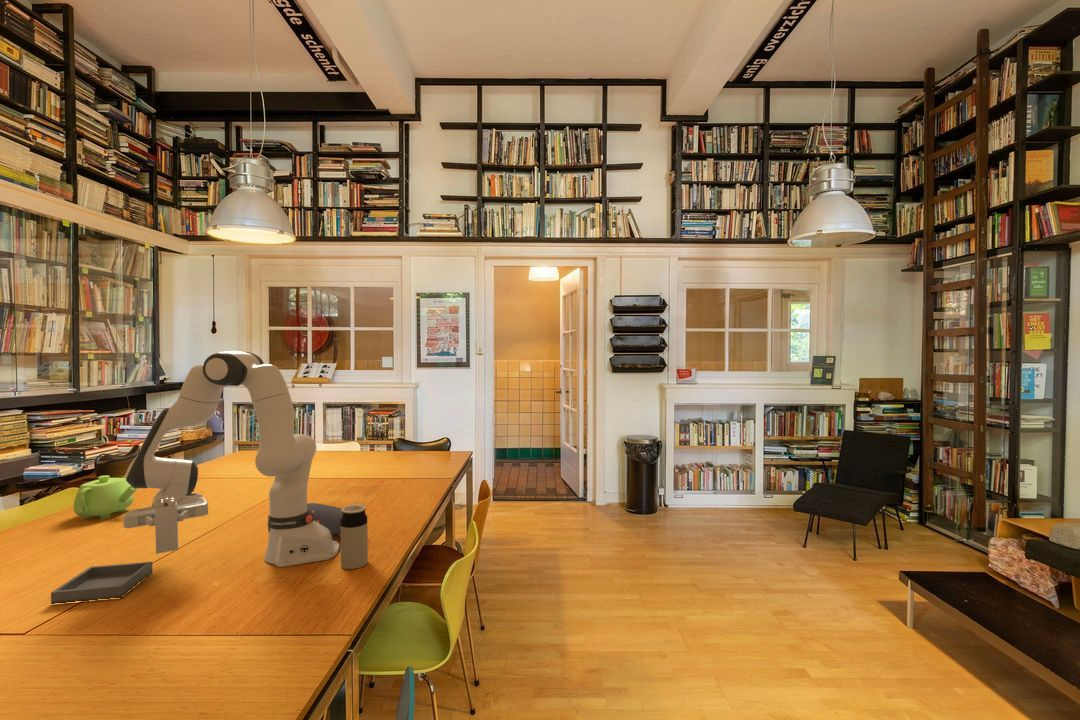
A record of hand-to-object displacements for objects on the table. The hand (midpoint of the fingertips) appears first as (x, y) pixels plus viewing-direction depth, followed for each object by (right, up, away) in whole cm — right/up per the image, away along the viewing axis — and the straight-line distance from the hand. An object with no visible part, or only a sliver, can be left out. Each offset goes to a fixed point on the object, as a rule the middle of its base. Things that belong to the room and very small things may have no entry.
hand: (166, 520), depth 143 cm
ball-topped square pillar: (-1, -8, +1) cm, 8 cm away
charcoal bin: (-17, -19, -1) cm, 25 cm away
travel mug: (+49, -19, +14) cm, 54 cm away
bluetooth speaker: (+29, -18, +41) cm, 53 cm away
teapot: (-68, -17, +62) cm, 93 cm away
